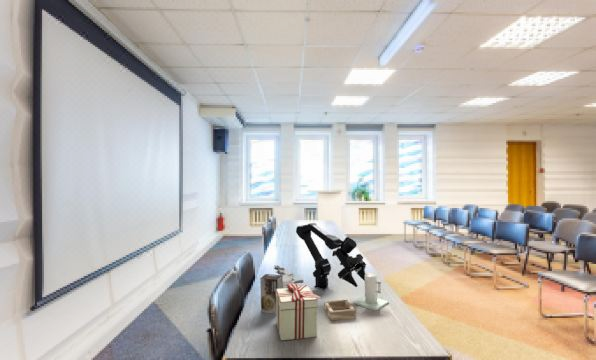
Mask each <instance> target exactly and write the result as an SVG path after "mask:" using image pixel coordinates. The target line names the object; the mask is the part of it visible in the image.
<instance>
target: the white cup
mask: <svg viewBox="0 0 596 360" xmlns="http://www.w3.org/2000/svg"><path fill="white" fill-rule="evenodd" d="M292 281H293V280H292V277H290V276H282V285H283V288H287V287H288V286H287V284H292Z"/></svg>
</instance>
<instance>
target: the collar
mask: <svg viewBox="0 0 596 360" xmlns="http://www.w3.org/2000/svg"><path fill="white" fill-rule="evenodd" d="M323 309H324V311H325V313H326V315H327V317H328V318H329V321H337V320H339V321H340V320H349V319H356V317H357V316H356V309H355V308H354V307H353V305H352V304H351V303H350V302H349V301H348V299H341V300H329V301H323Z"/></svg>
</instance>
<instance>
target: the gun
mask: <svg viewBox="0 0 596 360" xmlns="http://www.w3.org/2000/svg"><path fill="white" fill-rule="evenodd" d="M273 267H274V268H275V269H276V270H277V271H276V272H277V273H279V275H282V276H290V277H292V284H293V283H295V284H296V283H303V282H304V279H303V278H297V277H295V276H294V273H293V272H290V271H289V270H288V269H286V268H285V267H280V265H273Z"/></svg>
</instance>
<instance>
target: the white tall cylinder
mask: <svg viewBox="0 0 596 360" xmlns="http://www.w3.org/2000/svg"><path fill="white" fill-rule="evenodd" d="M381 293H382V282H381V280H378V275H377V274H376V273H370V272H369V273H365V281H364V296H365V302H366V303H368V304H376V303H377V298H378V294H381Z"/></svg>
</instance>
